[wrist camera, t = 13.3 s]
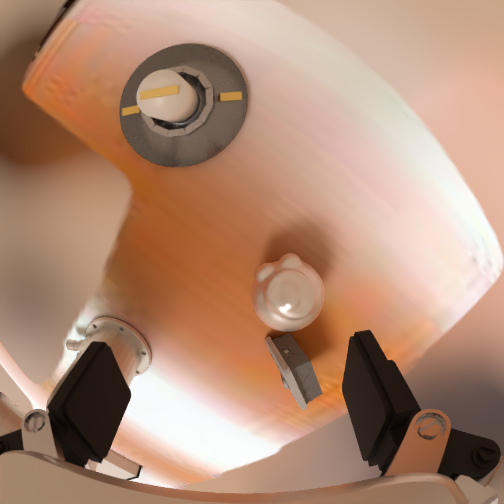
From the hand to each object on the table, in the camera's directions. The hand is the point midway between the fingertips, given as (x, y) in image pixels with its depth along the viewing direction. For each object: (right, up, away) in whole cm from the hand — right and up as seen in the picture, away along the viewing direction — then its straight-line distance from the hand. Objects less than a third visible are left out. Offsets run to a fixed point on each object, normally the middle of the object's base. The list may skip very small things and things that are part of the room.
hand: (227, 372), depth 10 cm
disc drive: (-47, -60, +52) cm, 93 cm away
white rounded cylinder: (-8, +22, +19) cm, 30 cm away
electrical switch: (+7, -11, +32) cm, 35 cm away
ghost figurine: (+5, +1, +28) cm, 28 cm away
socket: (-8, +22, +20) cm, 31 cm away
